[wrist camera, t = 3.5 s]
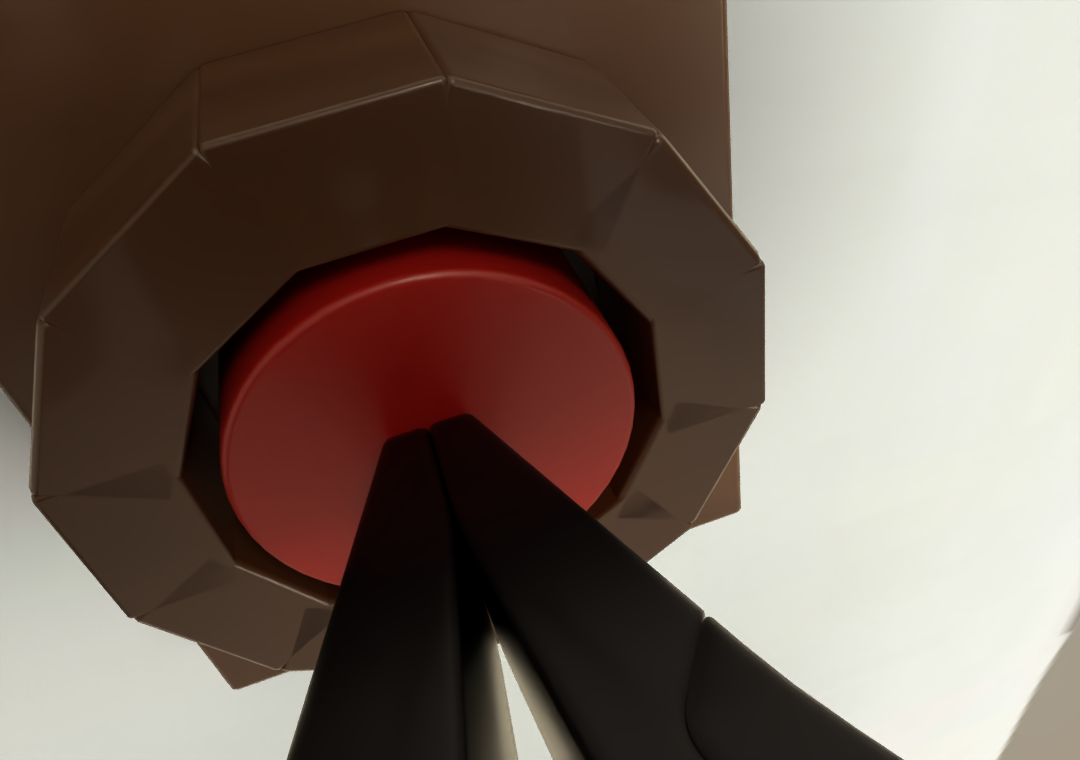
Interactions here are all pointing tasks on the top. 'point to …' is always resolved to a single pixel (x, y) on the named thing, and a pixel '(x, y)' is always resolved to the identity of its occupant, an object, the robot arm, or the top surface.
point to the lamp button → (413, 381)
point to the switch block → (345, 249)
